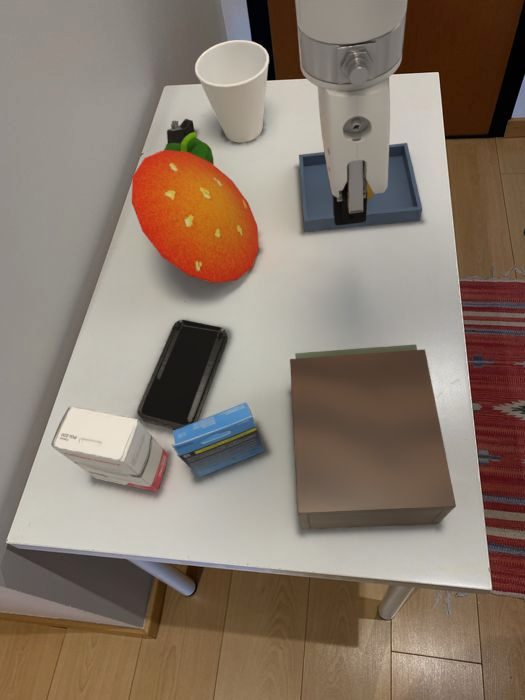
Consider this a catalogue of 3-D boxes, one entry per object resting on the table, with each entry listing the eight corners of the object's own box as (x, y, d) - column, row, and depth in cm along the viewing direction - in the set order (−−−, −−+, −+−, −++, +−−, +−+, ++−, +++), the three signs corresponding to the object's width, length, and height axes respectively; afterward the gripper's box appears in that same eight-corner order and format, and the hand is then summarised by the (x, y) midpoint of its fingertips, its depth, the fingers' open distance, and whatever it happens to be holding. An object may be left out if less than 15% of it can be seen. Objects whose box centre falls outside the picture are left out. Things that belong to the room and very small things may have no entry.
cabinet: (295, 392, 65) (289, 358, 57) (413, 384, 64) (425, 349, 56) (302, 529, 57) (297, 513, 49) (438, 524, 56) (456, 506, 48)
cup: (226, 103, 95) (212, 36, 84) (286, 112, 91) (279, 43, 81) (200, 146, 90) (182, 80, 79) (262, 157, 87) (252, 90, 76)
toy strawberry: (152, 306, 74) (113, 237, 61) (176, 201, 84) (147, 122, 71) (252, 307, 72) (234, 236, 59) (265, 199, 82) (252, 117, 69)
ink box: (171, 452, 63) (139, 418, 53) (158, 492, 61) (122, 465, 51) (108, 440, 65) (65, 404, 55) (93, 478, 63) (46, 449, 52)
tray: (405, 155, 83) (407, 142, 81) (419, 221, 76) (422, 209, 74) (299, 166, 84) (298, 154, 82) (304, 232, 78) (303, 220, 75)
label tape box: (256, 424, 64) (240, 383, 53) (267, 454, 62) (253, 417, 51) (189, 450, 63) (160, 414, 52) (199, 481, 61) (170, 450, 50)
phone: (228, 328, 69) (190, 430, 63) (229, 333, 70) (192, 433, 64) (175, 318, 71) (133, 415, 65) (177, 322, 72) (136, 418, 66)
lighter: (184, 148, 94) (184, 117, 91) (195, 149, 93) (195, 118, 91) (163, 154, 87) (162, 121, 84) (174, 155, 86) (174, 122, 84)
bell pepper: (178, 216, 82) (160, 167, 74) (166, 183, 86) (147, 133, 78) (227, 199, 83) (214, 149, 74) (213, 167, 87) (200, 115, 78)
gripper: (421, 97, 33) (397, 271, 49) (388, -22, 40) (376, 163, 56) (305, 114, 34) (318, 280, 50) (293, -6, 41) (308, 172, 57)
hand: (349, 218), depth 53 cm, fingers closed
